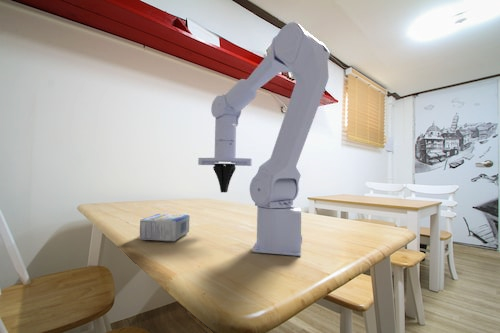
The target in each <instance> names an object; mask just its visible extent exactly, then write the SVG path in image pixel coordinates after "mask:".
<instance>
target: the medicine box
mask: <svg viewBox="0 0 500 333" xmlns="http://www.w3.org/2000/svg"><path fill="white" fill-rule="evenodd" d="M189 232H190V215H189V214H172V213H170V214H169V213H157V214H153V215H151V216H147V217H144V218H142V219H140V222H139V239H140V240H145V241H146V240H147V241H156V240H165V241H164V242H169V241H173V242H175V241H177V240H178V239H181V238H182V237H183V235H184V236H185V235H187V234H188V233H189ZM186 233H187V234H186Z"/></svg>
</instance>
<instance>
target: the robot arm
mask: <svg viewBox="0 0 500 333" xmlns="http://www.w3.org/2000/svg"><path fill="white" fill-rule="evenodd" d="M330 56H331V52H330V51H329V49H328V48H327V47H326V45H325V43H323V42H322V41H319V40H318V39H317V38H316V37H314V36H313V35H312V34H310V33H309V32H308V31H307V30H305V28H303V27H302V26H301V24H299V23H298V22H295V21H292V22H288V23H286V24H285V25H284V26H283V27H281V28H280V30H279V32H278V33H277V34H276V35H275V36H274V37H273V38H272V40H271V44H270V51H269V52H268V53H267V55H266V56H265V57H264V58H263V60H262V61H261V62H260V63H259V64H258V66H257V67H255V69H254V70H253V72H251V74H250V75H249V77H247V79H244V78H241V79H239V80H238V81H237V82H236V83H235V84H234V85H233V86H232V87H231V88H230V89H229V91H227V93H225V94H222V95H217V96H215V98H214V99H213V101H212V103H211V107H210V108H211V109H210V110H211V116H212V117H213V118H215V126H214V157H198V160H197V161H198V163H197V165H199V166H212V167H213V168H212V169H213V171H214V172H215V175H216V178H217V180H218V183H219V184H218V185H219V189H220V193H228V191H229V185H230V182H231V180H232V177H233V175H234V173H235V171H236V166H243V167H244V166H246V167H252V164H253V163H252V158H248V157H247V158H243V157H241V158H240V157H236V146H237V145H236V144H237V128H238V125H239V119H240V117H241V114H242V110H244V109H245V108H246V107H247V106H248V105H249V104H250V103H252V101H254V100H255V99H256V97H257V92H258V90H259V89H260V88H261V87H263V86H264V85H266V84H267V83H269V81H271V80H272V79H273V78H275V77H276V76H278V75H279V74H280V73H291V75H292V76H293V77H294V80H295V84H294V87H293V90H292V93H291V95H290V99H289V102H288V105H287V108H286V111H285V114H284V116H283V120H282V123H281V125H280V129H279V131H278V135H277V138H276V141H275V144H274V147H273V148H272V149H273V150H272V152H271V155H270V158H268V160H266V161H265V162H263V163H262V164H260V166H259V167H258V170H257V172H256V174H255V175H254V177H253V178H252V179H251V181H250V184H249V194H250V195H249V196H250V198H251V200H252V201H253V203H254V206H255V207H257V208H256V209H257V210H256V241H255V242H254V245H253V247H252V251H251V252H252V253H259V254H272V255H273V254H274V255H284V256H285V255H286V256H298V257H300V256H302V253H301V252H302V244H303V234H302V209H301V208H302V207H298V206H294V201H295V199H297V197H298V195H299V192H300V188H299V182H300V178H301V173H300V172H299V171H300V170H298V169H297V165H298V162H299V159H300V157H301V154H302V151H303V148H304V146H305V143H306V141H307V138H308V135H309V132H310V130H311V128H312V125H313V122H314V119H315V117H316V114H317V111H318V108H319V105H320V102H321V100H322V97H323V95H324V92H325V89H326V87H327V84H328V83H329V82H328V81H329V63H328V61H329V58H330ZM220 162H221V163H220ZM223 162H224V163H223Z"/></svg>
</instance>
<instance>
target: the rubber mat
mask: <svg viewBox="0 0 500 333" xmlns="http://www.w3.org/2000/svg"><path fill="white" fill-rule="evenodd" d="M187 234H188V233H186V234H185V235H187ZM185 235H183V236H185ZM183 236H182V237H183ZM155 241H157V242H166V241H165V240H155ZM168 242H170V243H171V242H172V243H173V242H174V241H168Z"/></svg>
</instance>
